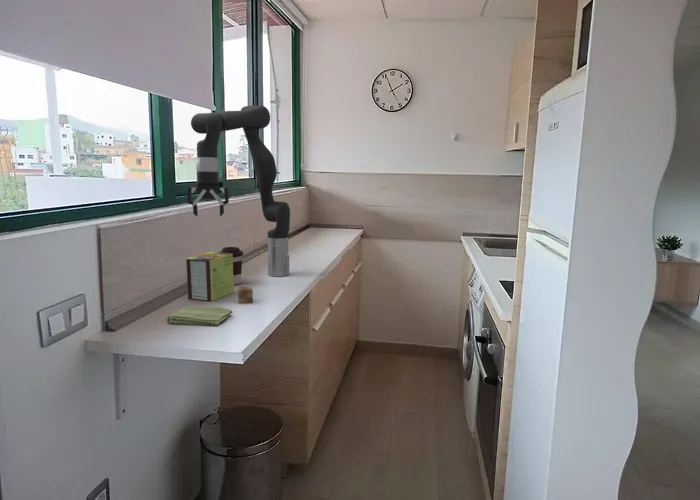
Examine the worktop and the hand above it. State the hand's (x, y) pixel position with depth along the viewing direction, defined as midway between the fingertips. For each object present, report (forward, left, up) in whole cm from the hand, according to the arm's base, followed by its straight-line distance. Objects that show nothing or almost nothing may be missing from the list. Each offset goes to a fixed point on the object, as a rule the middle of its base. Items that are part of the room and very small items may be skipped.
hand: (208, 215), depth 180 cm
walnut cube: (-12, +7, -31) cm, 34 cm away
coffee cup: (-8, -23, -31) cm, 40 cm away
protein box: (0, -5, -31) cm, 32 cm away
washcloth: (+3, +25, -32) cm, 40 cm away
